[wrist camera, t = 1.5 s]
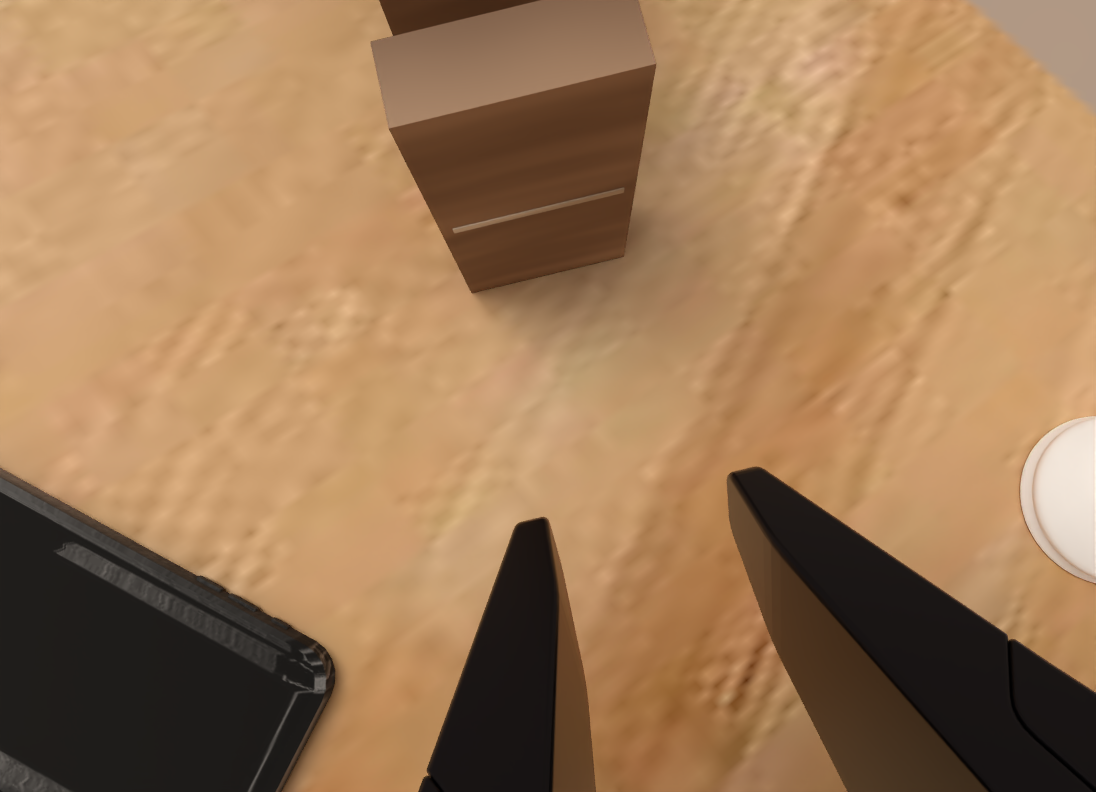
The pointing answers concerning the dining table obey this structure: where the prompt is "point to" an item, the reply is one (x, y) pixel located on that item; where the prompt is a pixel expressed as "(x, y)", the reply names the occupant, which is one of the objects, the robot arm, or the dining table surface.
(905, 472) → the dining table surface
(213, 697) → the phone
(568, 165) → the domino
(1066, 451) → the chess piece
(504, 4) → the domino
